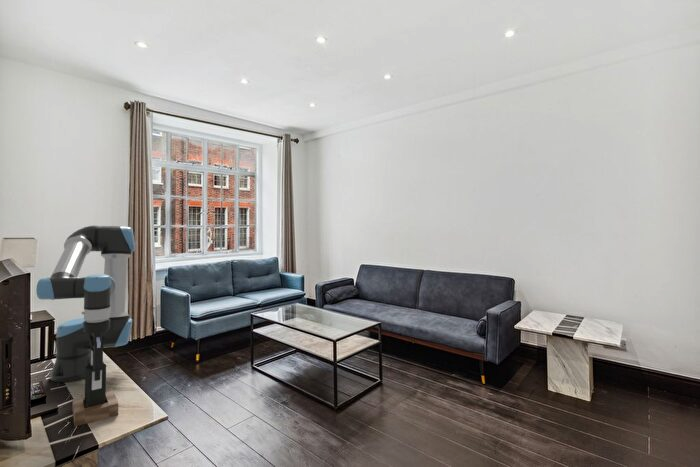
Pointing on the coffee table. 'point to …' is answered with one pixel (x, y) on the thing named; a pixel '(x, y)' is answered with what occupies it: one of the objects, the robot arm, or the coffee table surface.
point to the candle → (91, 395)
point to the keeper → (94, 409)
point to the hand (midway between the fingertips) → (95, 385)
